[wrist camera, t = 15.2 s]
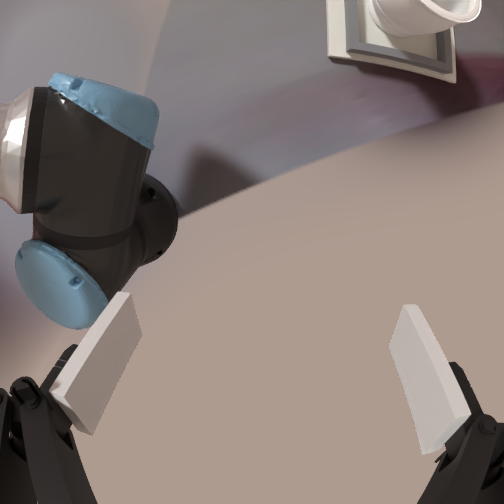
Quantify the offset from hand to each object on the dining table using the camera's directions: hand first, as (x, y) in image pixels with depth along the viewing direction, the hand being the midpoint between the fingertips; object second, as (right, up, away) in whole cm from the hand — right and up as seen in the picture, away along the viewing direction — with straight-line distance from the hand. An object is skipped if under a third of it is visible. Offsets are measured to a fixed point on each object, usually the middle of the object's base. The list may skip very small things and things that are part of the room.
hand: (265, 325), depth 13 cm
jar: (+19, +37, +13) cm, 43 cm away
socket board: (+19, +37, +14) cm, 44 cm away
